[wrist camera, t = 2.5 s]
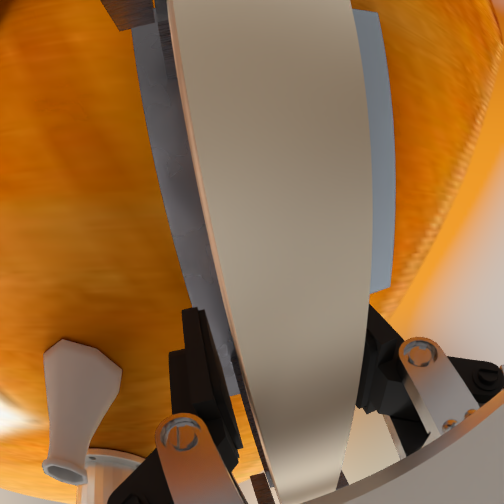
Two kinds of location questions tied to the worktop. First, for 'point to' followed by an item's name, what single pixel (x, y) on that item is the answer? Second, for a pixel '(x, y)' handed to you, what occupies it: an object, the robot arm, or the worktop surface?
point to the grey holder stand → (183, 190)
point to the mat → (379, 145)
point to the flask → (76, 405)
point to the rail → (285, 213)
